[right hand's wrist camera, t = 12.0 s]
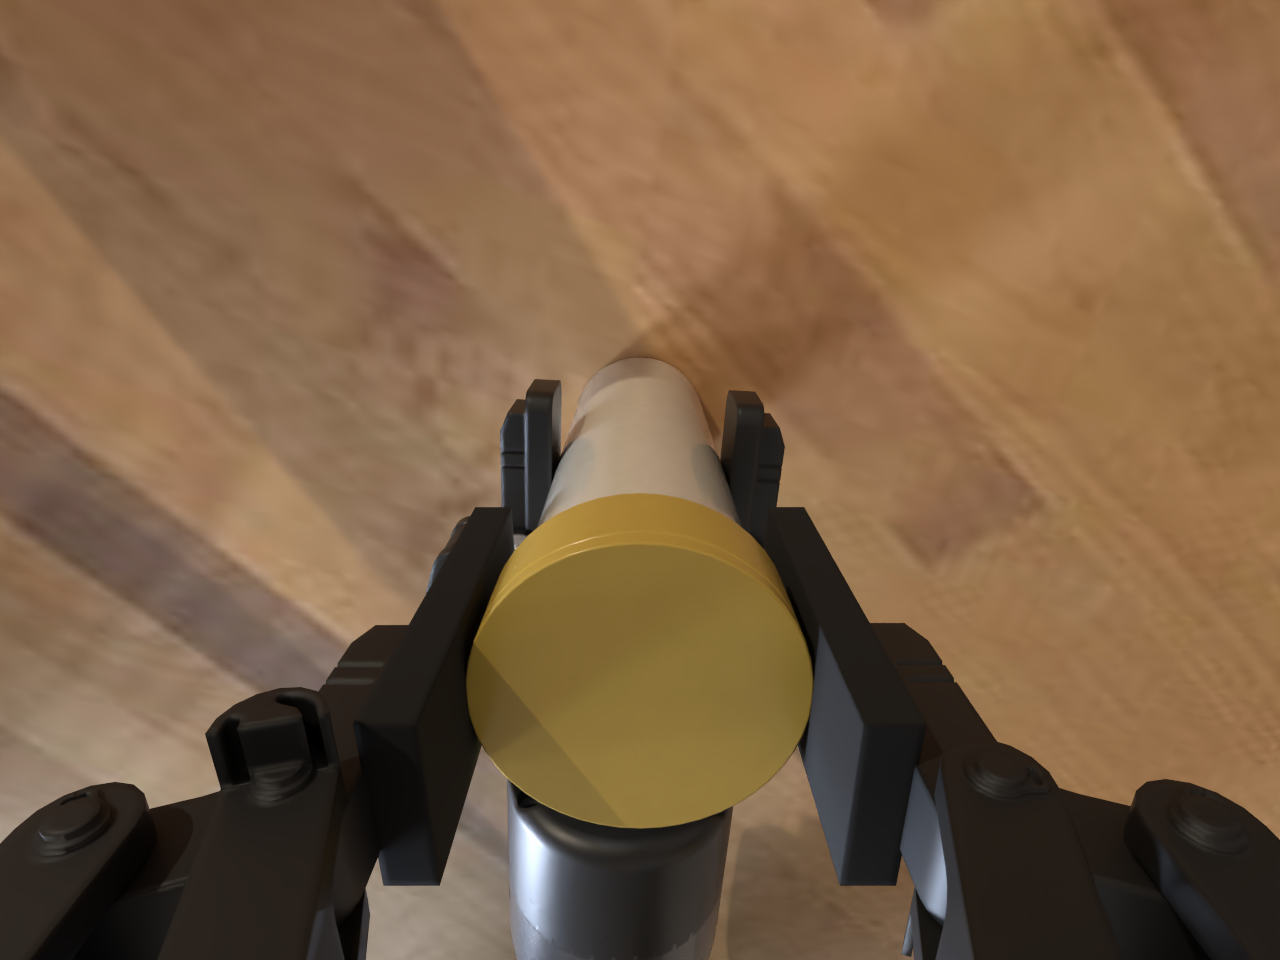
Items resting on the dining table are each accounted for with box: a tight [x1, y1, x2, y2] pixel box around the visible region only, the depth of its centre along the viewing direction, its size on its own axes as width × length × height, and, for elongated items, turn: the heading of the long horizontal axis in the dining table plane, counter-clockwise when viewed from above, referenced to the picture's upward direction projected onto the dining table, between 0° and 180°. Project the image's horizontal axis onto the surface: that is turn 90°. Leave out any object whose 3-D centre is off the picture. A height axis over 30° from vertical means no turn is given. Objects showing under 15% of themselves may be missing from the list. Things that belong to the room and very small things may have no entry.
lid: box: [466, 493, 814, 828], centre depth 11 cm, size 5×5×2 cm
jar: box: [537, 357, 742, 528], centre depth 18 cm, size 5×5×15 cm
